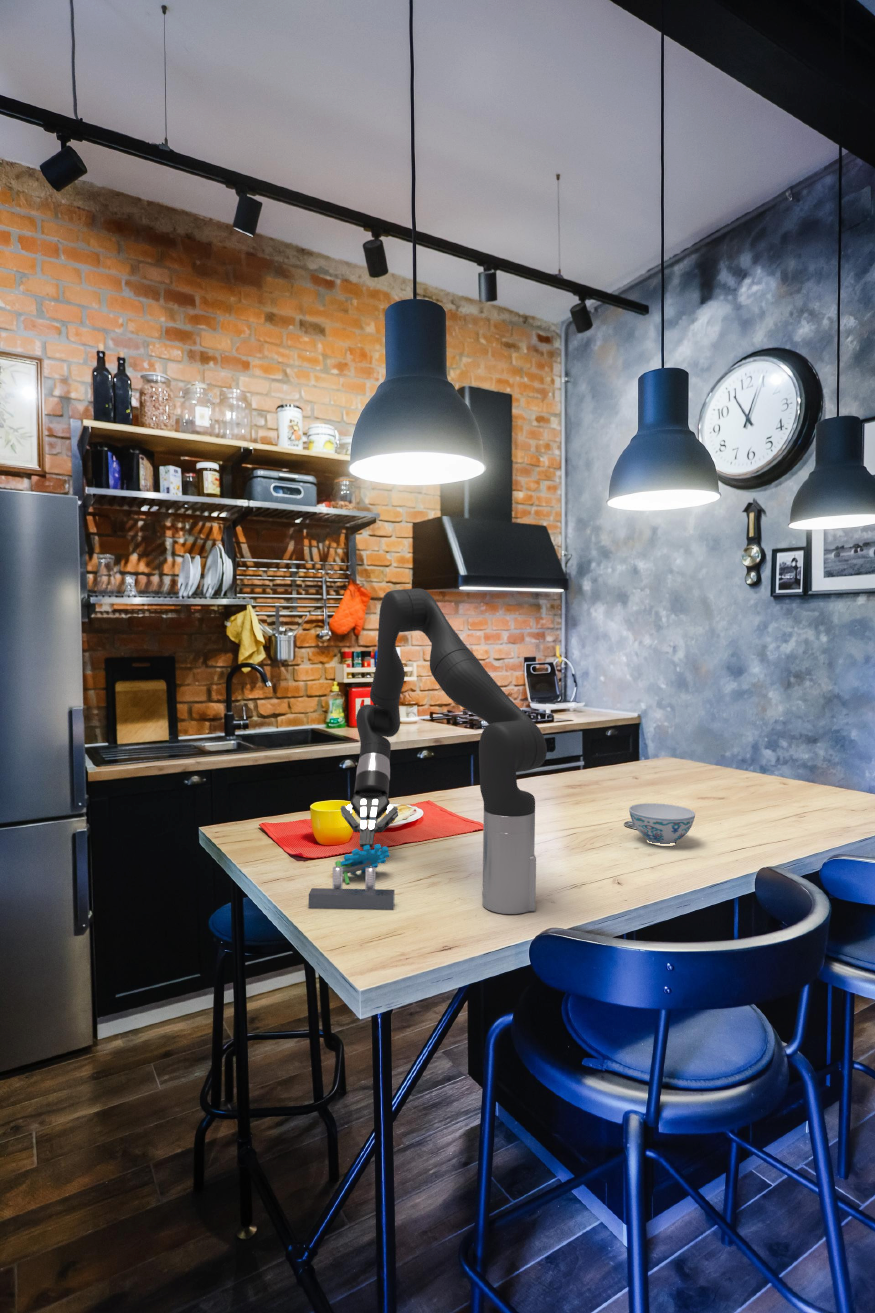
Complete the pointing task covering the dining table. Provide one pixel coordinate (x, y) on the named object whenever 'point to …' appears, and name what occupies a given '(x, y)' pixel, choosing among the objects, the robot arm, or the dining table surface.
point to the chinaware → (661, 821)
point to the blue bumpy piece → (363, 860)
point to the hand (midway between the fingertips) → (365, 848)
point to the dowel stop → (352, 894)
